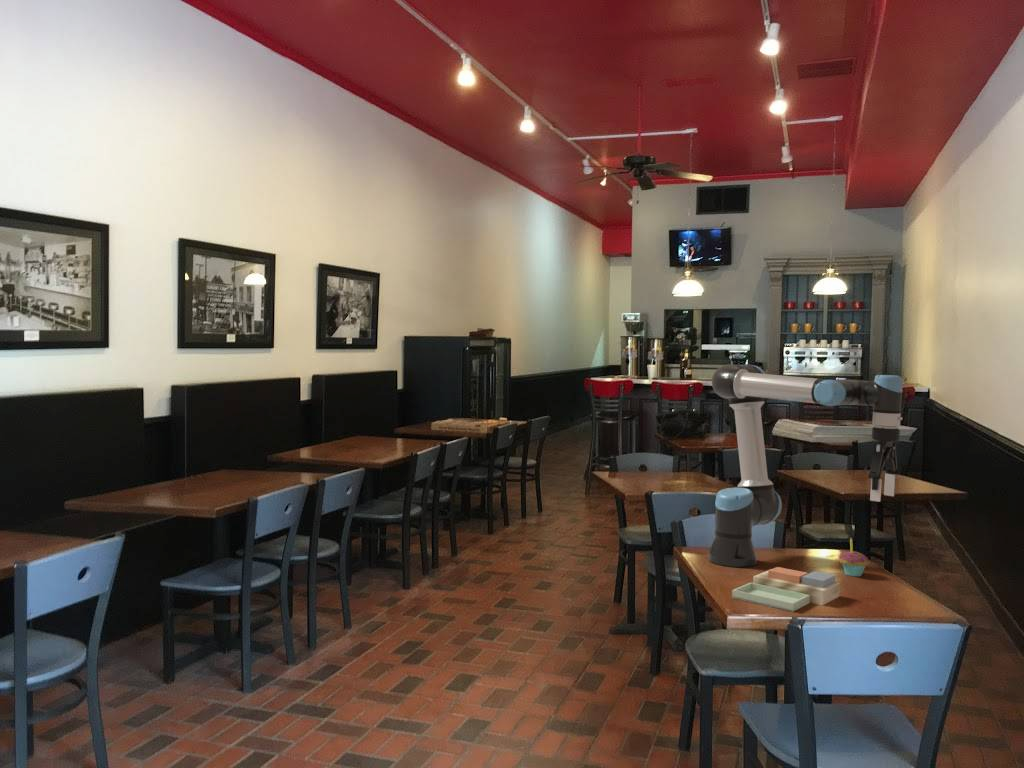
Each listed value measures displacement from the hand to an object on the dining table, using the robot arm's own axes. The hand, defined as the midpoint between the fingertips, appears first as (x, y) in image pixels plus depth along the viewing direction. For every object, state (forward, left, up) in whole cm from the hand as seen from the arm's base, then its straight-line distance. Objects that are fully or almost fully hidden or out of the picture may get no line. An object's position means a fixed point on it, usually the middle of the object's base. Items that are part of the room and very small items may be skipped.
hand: (882, 498), depth 245 cm
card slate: (-7, -28, -21) cm, 35 cm away
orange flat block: (-15, -30, -21) cm, 39 cm away
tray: (-15, -41, -26) cm, 51 cm away
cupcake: (-9, +5, -26) cm, 28 cm away
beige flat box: (-13, -29, -26) cm, 41 cm away
